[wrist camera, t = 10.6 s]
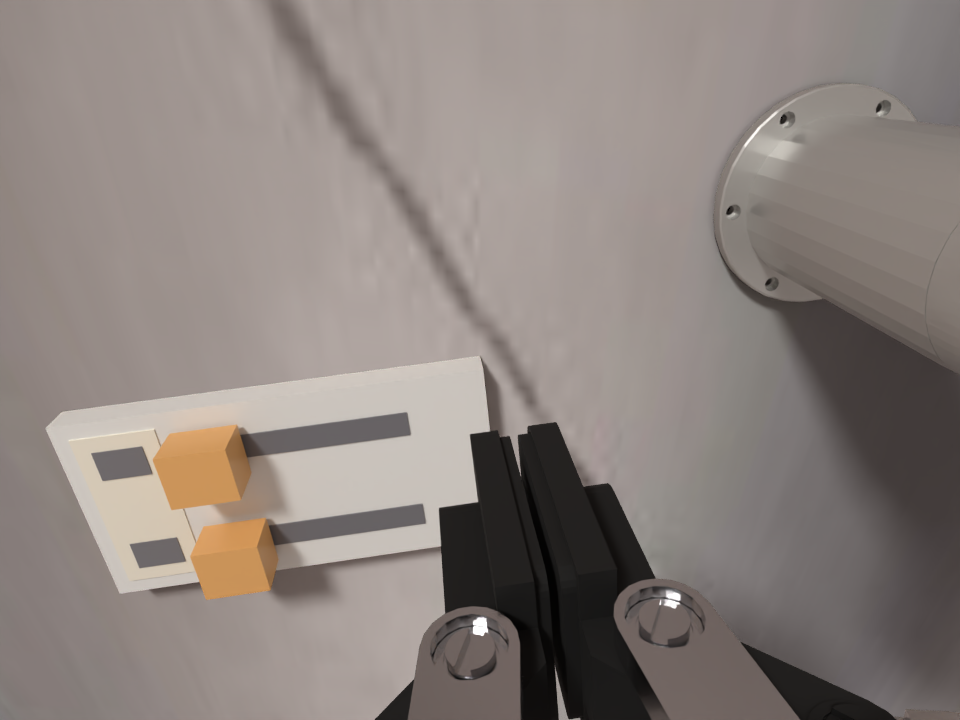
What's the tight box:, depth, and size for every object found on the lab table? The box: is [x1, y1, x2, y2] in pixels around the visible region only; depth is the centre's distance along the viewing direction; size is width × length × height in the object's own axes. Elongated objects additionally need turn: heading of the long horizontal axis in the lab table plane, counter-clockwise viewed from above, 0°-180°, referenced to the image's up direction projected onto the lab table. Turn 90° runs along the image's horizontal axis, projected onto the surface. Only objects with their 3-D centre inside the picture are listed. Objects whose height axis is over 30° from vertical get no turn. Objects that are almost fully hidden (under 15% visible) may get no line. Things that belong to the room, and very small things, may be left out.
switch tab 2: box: [190, 518, 279, 600], centre depth 41 cm, size 4×4×3 cm
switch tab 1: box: [153, 425, 252, 510], centre depth 38 cm, size 4×4×3 cm
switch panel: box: [46, 356, 490, 594], centre depth 42 cm, size 26×13×2 cm, turn 96°
